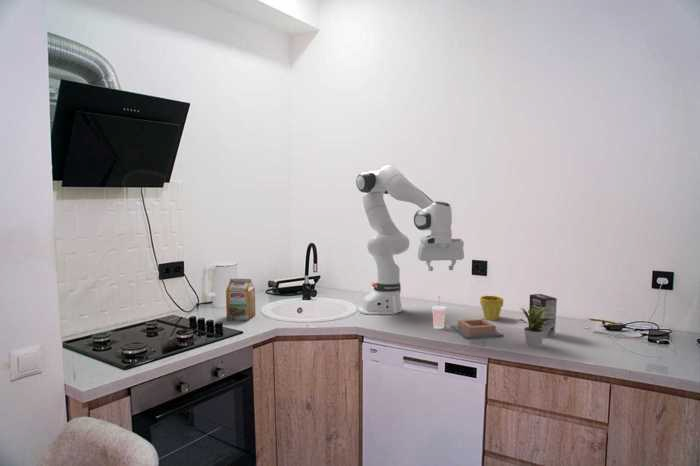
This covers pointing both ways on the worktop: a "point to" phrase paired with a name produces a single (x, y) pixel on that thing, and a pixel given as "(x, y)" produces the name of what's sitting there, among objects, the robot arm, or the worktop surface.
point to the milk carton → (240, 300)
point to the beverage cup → (438, 316)
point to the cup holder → (476, 329)
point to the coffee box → (545, 311)
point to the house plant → (534, 327)
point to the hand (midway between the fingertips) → (440, 270)
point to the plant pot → (491, 306)
